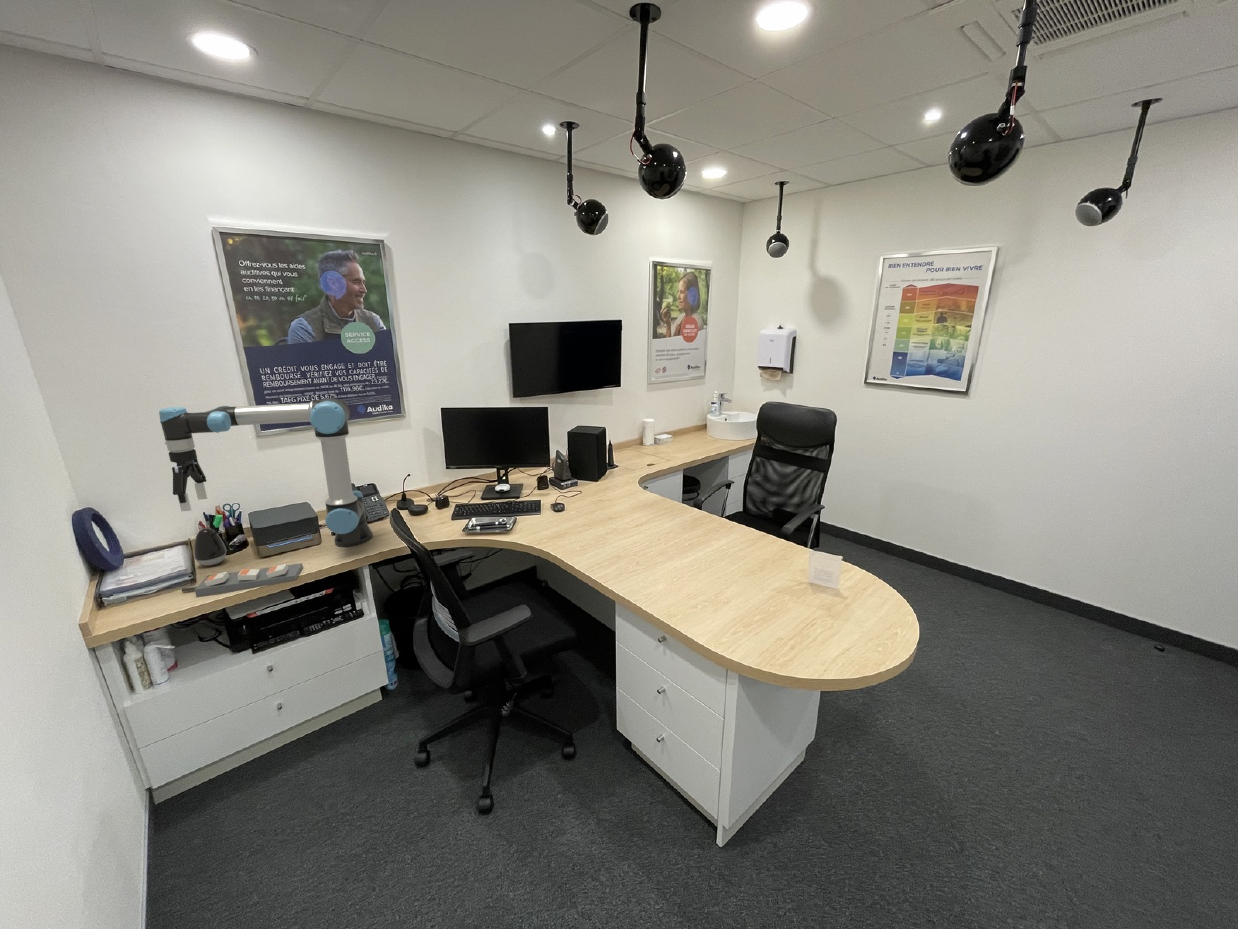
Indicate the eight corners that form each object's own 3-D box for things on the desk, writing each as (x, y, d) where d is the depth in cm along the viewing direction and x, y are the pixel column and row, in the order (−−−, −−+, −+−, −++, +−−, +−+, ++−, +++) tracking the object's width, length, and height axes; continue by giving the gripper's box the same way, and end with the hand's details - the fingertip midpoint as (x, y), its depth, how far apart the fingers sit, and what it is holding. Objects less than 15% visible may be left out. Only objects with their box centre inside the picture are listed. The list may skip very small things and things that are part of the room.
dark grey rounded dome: (211, 569, 196) (203, 534, 192) (190, 567, 197) (181, 532, 193) (235, 558, 205) (227, 524, 201) (214, 556, 207) (206, 523, 203)
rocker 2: (260, 574, 186) (260, 569, 185) (255, 580, 181) (255, 574, 181) (242, 574, 184) (242, 568, 183) (237, 580, 179) (237, 574, 179)
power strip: (303, 570, 196) (302, 562, 195) (296, 582, 186) (294, 574, 185) (189, 585, 183) (187, 577, 183) (175, 600, 173) (173, 591, 173)
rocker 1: (229, 575, 182) (227, 570, 182) (224, 581, 178) (222, 576, 177) (212, 580, 181) (209, 575, 180) (206, 586, 177) (204, 581, 176)
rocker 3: (288, 568, 189) (286, 563, 188) (285, 573, 184) (283, 568, 184) (272, 572, 187) (270, 567, 186) (268, 578, 183) (266, 573, 182)
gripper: (185, 443, 189) (197, 495, 195) (150, 458, 166) (165, 517, 172) (208, 442, 191) (220, 493, 197) (177, 457, 169) (191, 514, 174)
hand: (194, 504), depth 184 cm, fingers open, 13 cm apart
